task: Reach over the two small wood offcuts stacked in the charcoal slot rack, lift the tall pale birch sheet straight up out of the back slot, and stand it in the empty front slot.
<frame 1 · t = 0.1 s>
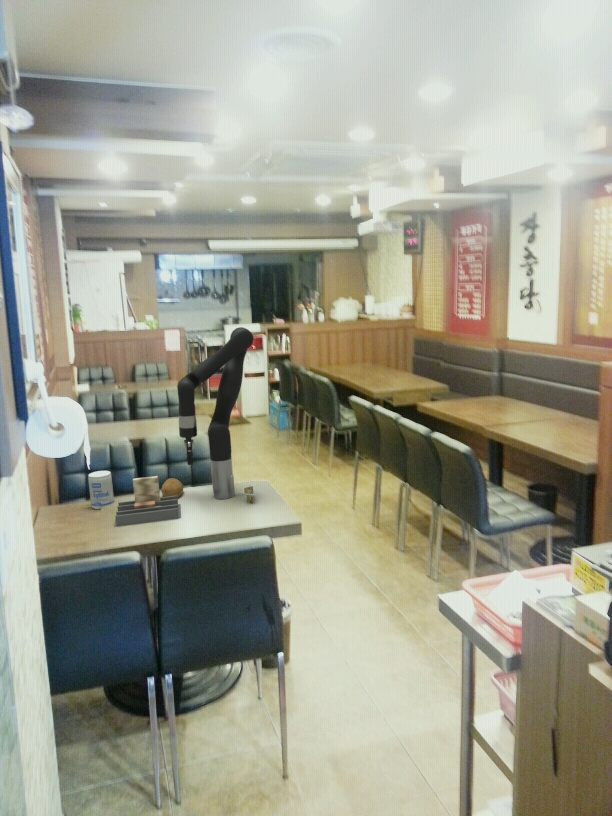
hand: (189, 461, 270), 17 cm above the table, tool pointing down, fingers open, 8 cm apart
sheet: (148, 510, 259), point 1 cm above the table, touching rack
mottled beige figurine: (249, 501, 269), on the table
rack: (148, 517, 256), on the table
potato: (173, 498, 277), on the table
supplement tub: (103, 506, 272), on the table
offcut upper: (145, 509, 253), point 4 cm above the table, touching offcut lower
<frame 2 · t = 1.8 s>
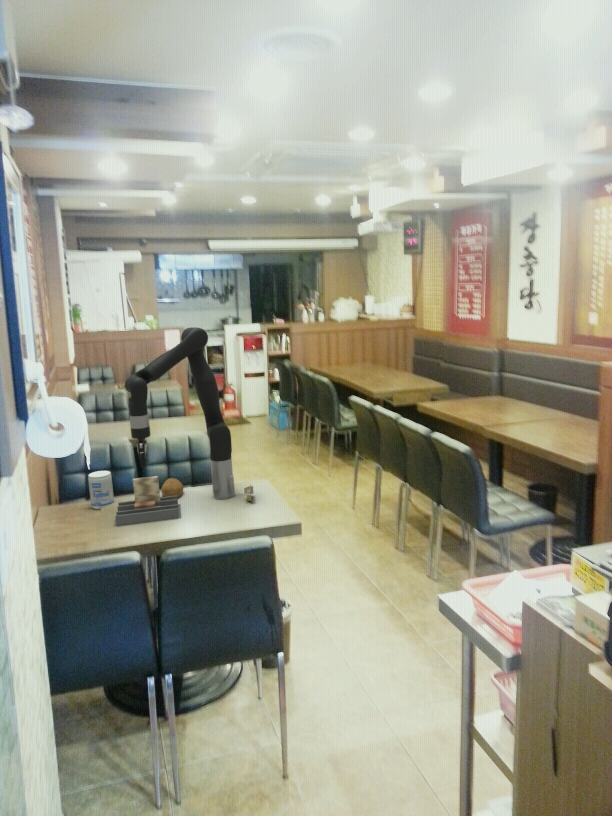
hand: (143, 464, 255), 21 cm above the table, tool pointing down, fingers open, 8 cm apart
nothing on the table moved.
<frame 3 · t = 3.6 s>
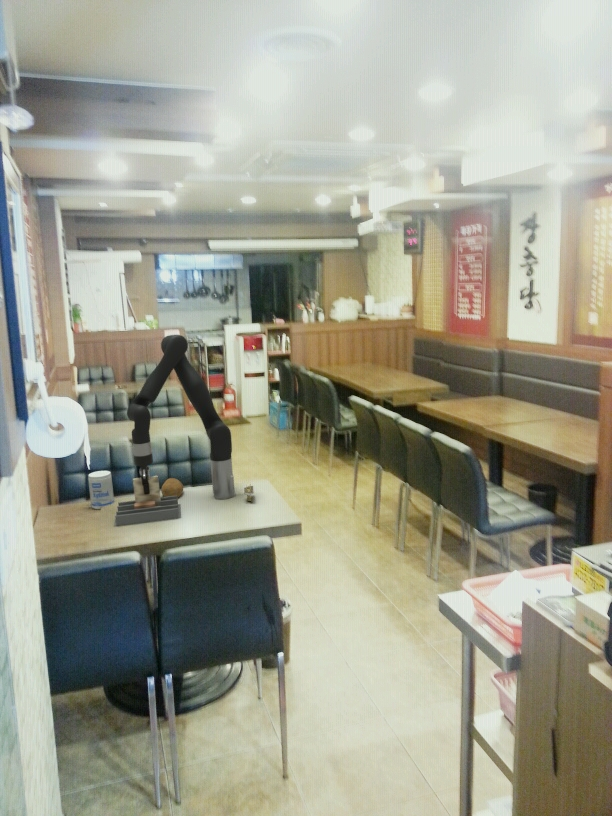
hand: (147, 492, 258), 9 cm above the table, tool pointing down, fingers closed on sheet, 2 cm apart
sheet: (149, 509, 259), point 2 cm above the table, touching gripper
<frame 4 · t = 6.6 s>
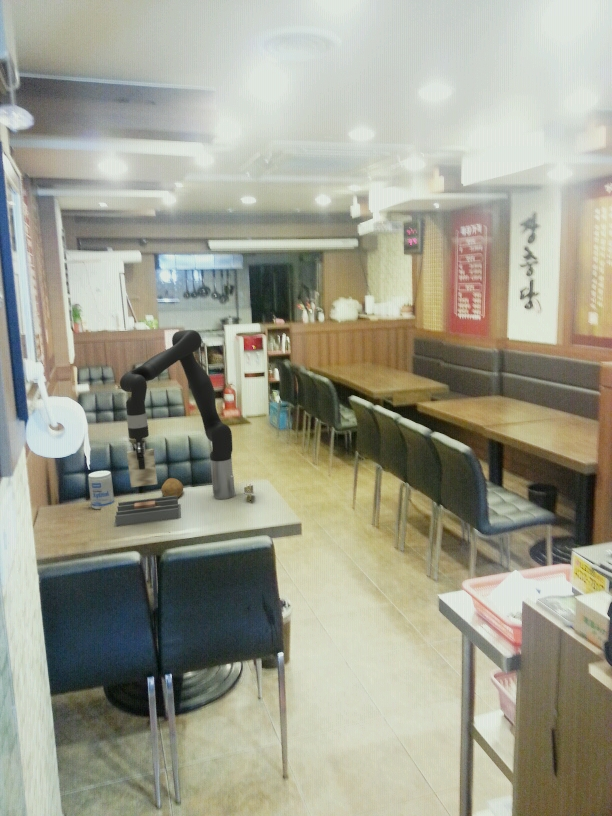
hand: (142, 468, 245), 23 cm above the table, tool pointing down, fingers closed on sheet
sheet: (144, 484, 246), point 16 cm above the table, touching gripper
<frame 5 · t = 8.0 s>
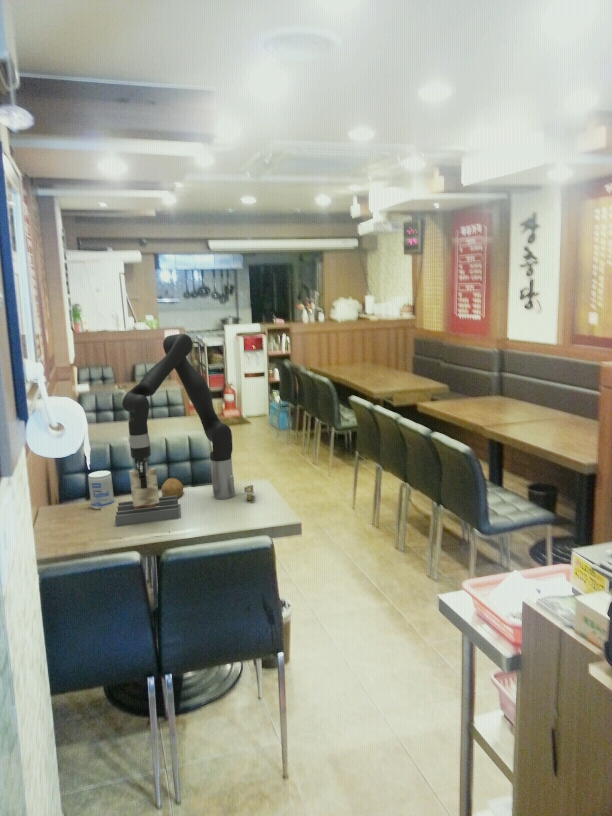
hand: (144, 487, 246), 15 cm above the table, tool pointing down, fingers closed on sheet
sheet: (146, 503, 248), point 8 cm above the table, touching gripper
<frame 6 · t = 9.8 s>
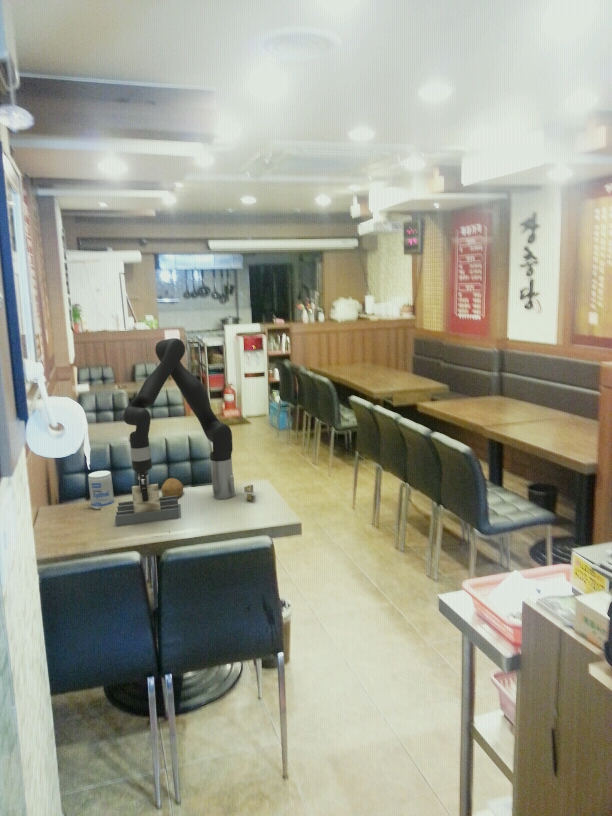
hand: (145, 499, 247), 10 cm above the table, tool pointing down, fingers open, 4 cm apart
sheet: (148, 519, 249), point 2 cm above the table, touching rack
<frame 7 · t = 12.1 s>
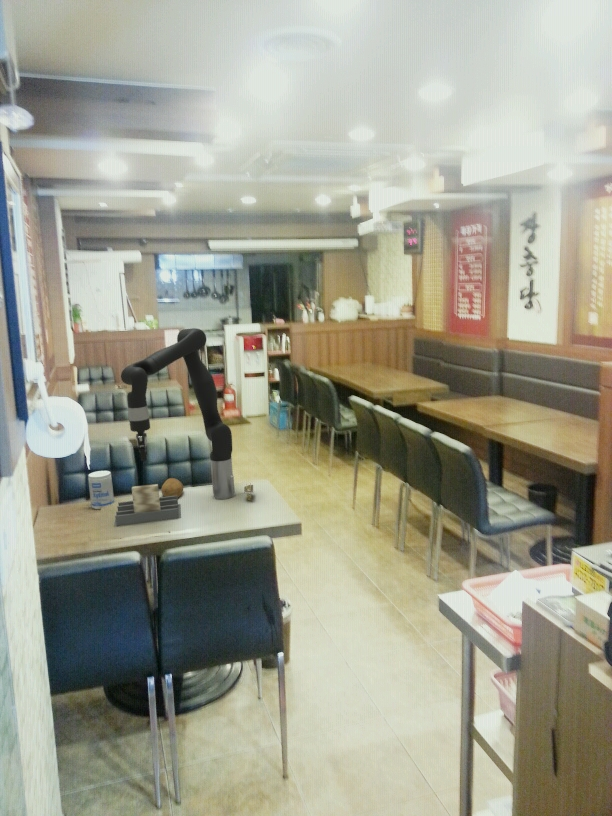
hand: (144, 457, 246), 27 cm above the table, tool pointing down, fingers open, 8 cm apart
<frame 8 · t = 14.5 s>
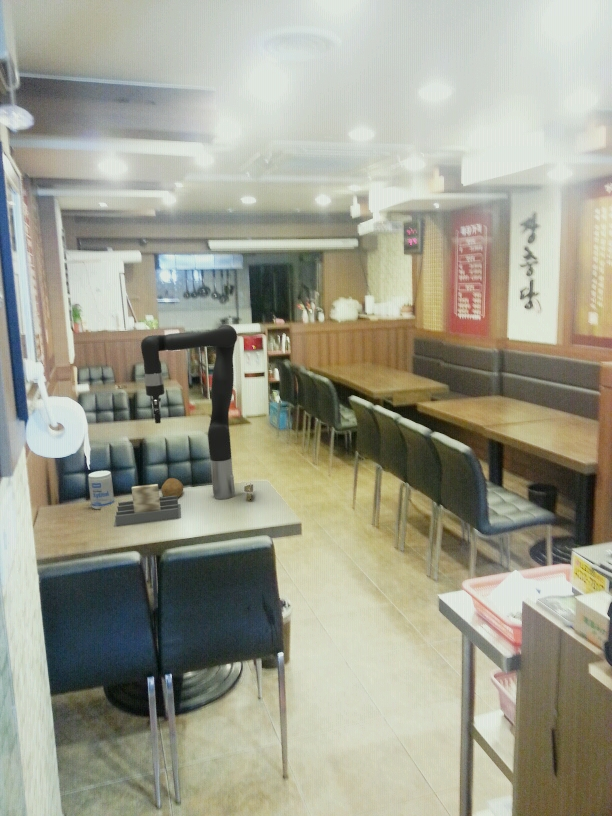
hand: (158, 421, 266), 36 cm above the table, tool pointing down, fingers open, 8 cm apart
at the end: sheet inside the target area on the rack (0.2 cm from its centre), point 1.5 cm above the rack's base; sheet tilted 0°; the gripper is holding nothing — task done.
